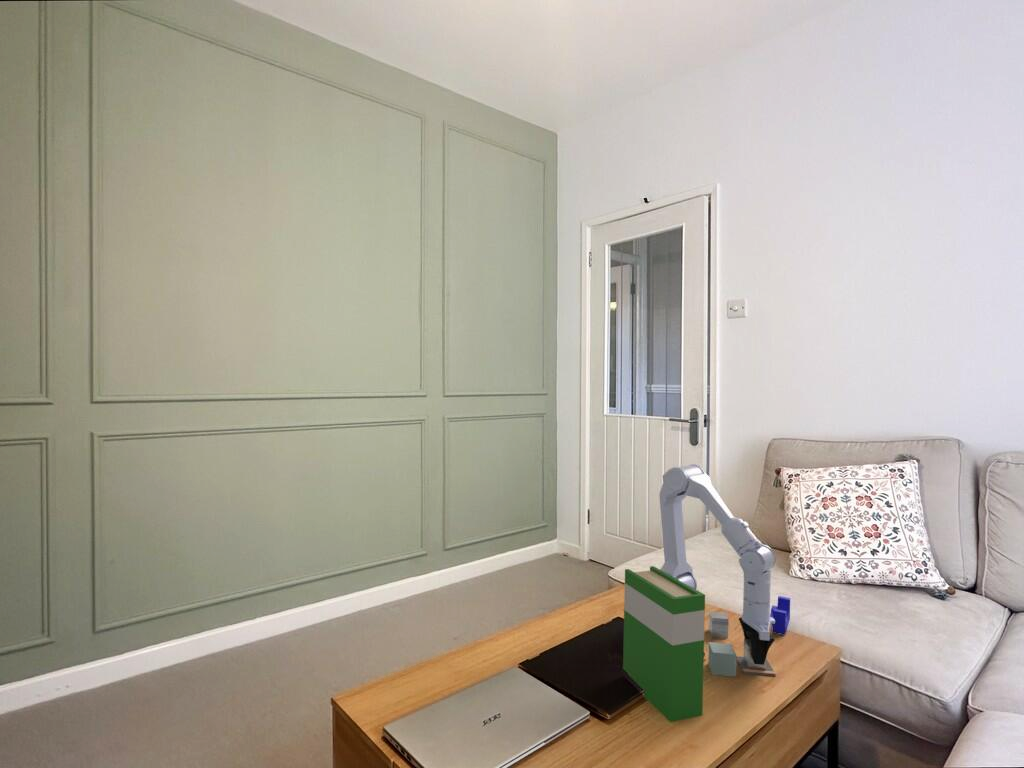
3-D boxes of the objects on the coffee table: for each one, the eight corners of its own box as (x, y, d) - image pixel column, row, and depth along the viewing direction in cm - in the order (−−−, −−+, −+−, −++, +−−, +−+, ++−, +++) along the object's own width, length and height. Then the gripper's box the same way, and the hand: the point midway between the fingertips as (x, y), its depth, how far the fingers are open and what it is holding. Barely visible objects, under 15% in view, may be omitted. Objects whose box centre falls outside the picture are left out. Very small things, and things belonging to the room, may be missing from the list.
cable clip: (772, 615, 161) (772, 594, 161) (789, 619, 159) (790, 598, 159) (766, 631, 151) (766, 609, 151) (785, 636, 148) (785, 613, 148)
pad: (742, 672, 129) (742, 670, 129) (735, 657, 136) (735, 655, 136) (775, 675, 128) (775, 673, 128) (766, 660, 135) (766, 658, 135)
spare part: (766, 670, 130) (767, 648, 130) (747, 668, 130) (748, 646, 130) (761, 661, 134) (762, 640, 134) (743, 659, 134) (743, 638, 134)
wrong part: (711, 637, 147) (712, 617, 147) (708, 630, 151) (709, 611, 151) (728, 638, 146) (728, 619, 146) (724, 631, 150) (725, 612, 150)
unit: (712, 674, 128) (712, 652, 128) (708, 662, 133) (708, 641, 133) (735, 676, 127) (736, 654, 127) (730, 664, 133) (730, 643, 133)
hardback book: (622, 676, 127) (625, 569, 126) (651, 671, 129) (653, 566, 129) (670, 722, 110) (673, 599, 110) (702, 715, 113) (705, 594, 112)
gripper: (784, 613, 124) (783, 675, 124) (765, 588, 138) (764, 644, 138) (750, 610, 125) (749, 671, 125) (735, 586, 139) (734, 641, 140)
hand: (755, 657), depth 132 cm, fingers open, 5 cm apart
